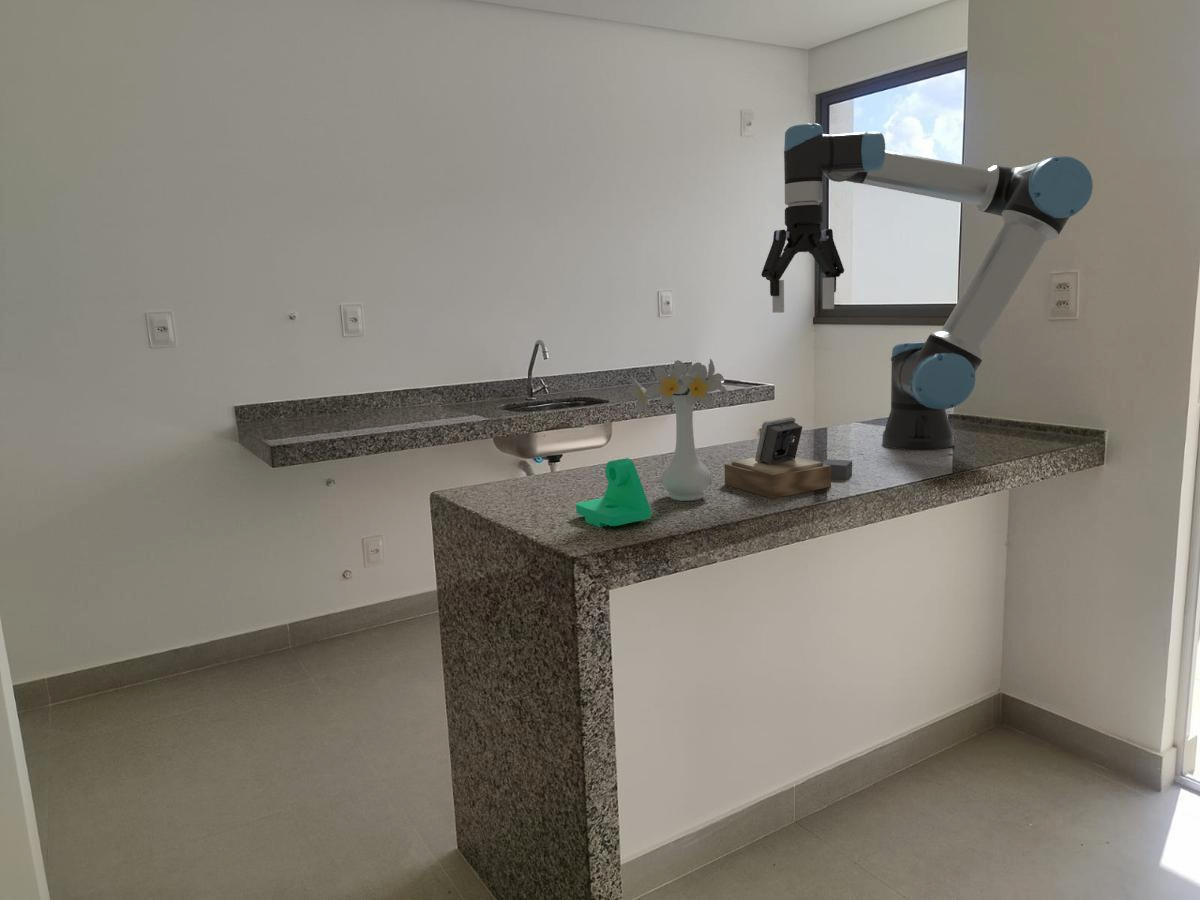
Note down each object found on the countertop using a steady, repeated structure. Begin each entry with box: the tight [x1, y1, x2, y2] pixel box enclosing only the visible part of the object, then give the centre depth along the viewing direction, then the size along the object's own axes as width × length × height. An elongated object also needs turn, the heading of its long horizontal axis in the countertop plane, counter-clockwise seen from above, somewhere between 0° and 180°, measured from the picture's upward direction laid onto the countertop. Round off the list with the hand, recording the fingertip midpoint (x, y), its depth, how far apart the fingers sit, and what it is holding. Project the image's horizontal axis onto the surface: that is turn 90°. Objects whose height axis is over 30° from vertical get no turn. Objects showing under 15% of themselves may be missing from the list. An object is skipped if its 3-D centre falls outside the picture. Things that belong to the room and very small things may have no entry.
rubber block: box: [823, 458, 853, 481], centre depth 169 cm, size 5×5×3 cm
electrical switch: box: [754, 416, 803, 465], centre depth 162 cm, size 8×5×8 cm, turn 126°
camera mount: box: [575, 457, 652, 528], centre depth 144 cm, size 12×8×10 cm, turn 32°
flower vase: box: [628, 357, 730, 502], centre depth 155 cm, size 13×18×25 cm
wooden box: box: [724, 456, 832, 499], centre depth 163 cm, size 14×14×5 cm
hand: (803, 310), depth 180 cm, fingers open, 13 cm apart
